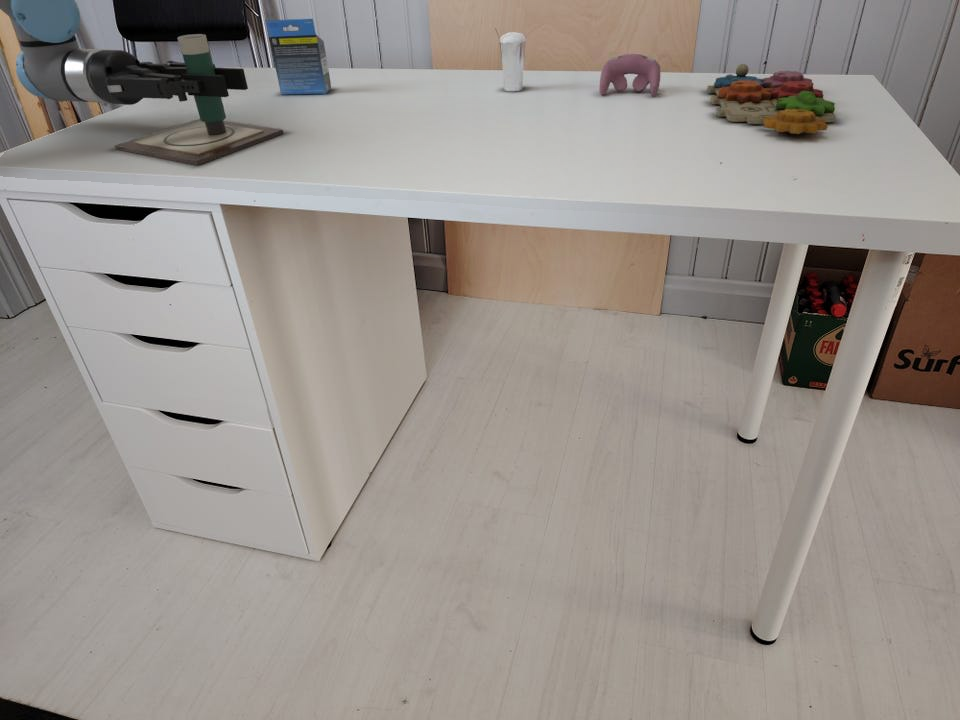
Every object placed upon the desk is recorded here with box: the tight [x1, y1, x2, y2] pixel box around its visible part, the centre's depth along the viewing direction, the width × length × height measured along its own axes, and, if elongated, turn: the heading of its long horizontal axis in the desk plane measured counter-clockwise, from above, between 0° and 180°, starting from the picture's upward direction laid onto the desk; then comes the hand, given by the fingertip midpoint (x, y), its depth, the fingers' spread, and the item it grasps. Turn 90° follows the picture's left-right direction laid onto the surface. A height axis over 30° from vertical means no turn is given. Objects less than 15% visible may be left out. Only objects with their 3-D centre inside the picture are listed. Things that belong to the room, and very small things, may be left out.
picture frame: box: [114, 118, 284, 166], centre depth 96 cm, size 18×16×1 cm
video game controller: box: [599, 53, 661, 97], centre depth 108 cm, size 10×5×7 cm, turn 74°
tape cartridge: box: [264, 18, 332, 96], centre depth 116 cm, size 9×4×12 cm, turn 84°
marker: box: [177, 33, 227, 135], centre depth 93 cm, size 4×4×13 cm
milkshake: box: [494, 27, 527, 92], centre depth 112 cm, size 4×5×10 cm
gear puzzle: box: [706, 63, 837, 135], centre depth 95 cm, size 31×16×4 cm, turn 169°
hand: (234, 82), depth 90 cm, fingers closed on marker, 3 cm apart
